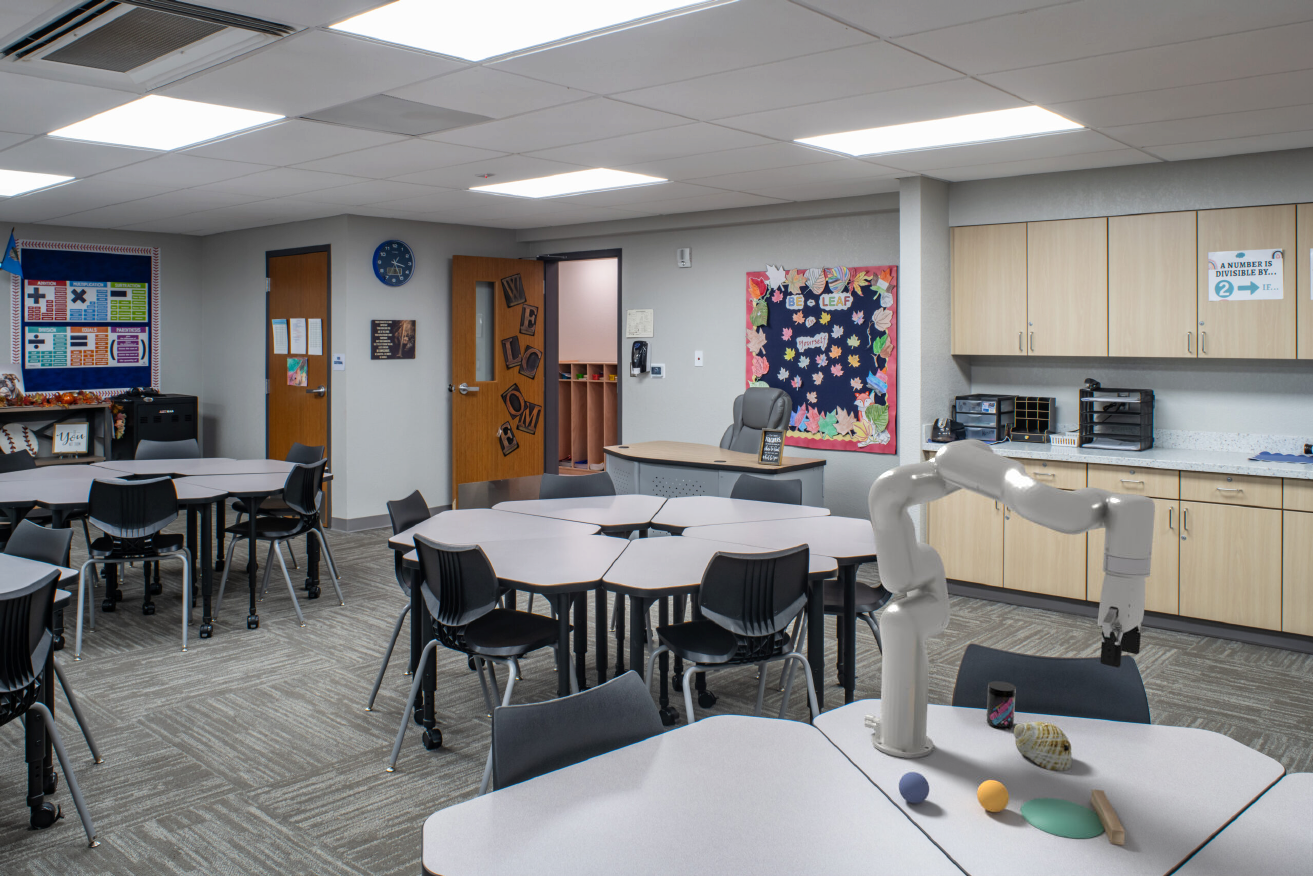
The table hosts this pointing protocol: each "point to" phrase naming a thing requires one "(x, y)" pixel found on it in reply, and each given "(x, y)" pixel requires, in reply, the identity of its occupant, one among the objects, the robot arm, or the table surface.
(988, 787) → the orange ball
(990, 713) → the supplement container
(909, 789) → the slate blue ball
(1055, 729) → the seashell
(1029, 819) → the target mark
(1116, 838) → the wall
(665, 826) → the table surface
